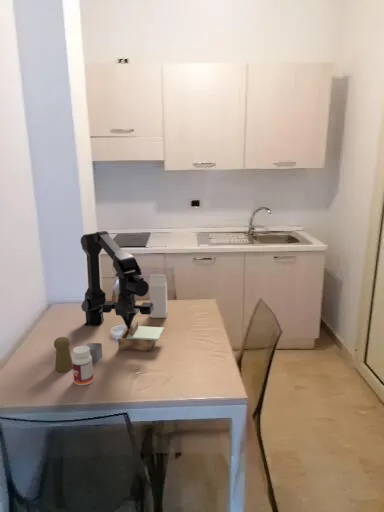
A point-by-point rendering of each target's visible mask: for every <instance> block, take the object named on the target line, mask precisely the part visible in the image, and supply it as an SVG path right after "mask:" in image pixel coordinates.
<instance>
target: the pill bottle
mask: <svg viewBox="0 0 384 512" xmlns="http://www.w3.org/2000/svg"><path fill="white" fill-rule="evenodd" d="M72 355H73V356H72V357H71V359H72V365H73V369H72V375H73V377H72V378H73V383H74V384H75V385H76V386H87V385H89V384H91V383H92V382H93V381H94V368H93V362H92V356H91V355H90V348H89V347H88V346H86V345H80V346H76V347H74V348H73V349H72Z"/></svg>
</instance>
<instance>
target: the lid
mask: <svg viewBox="0 0 384 512" xmlns="http://www.w3.org/2000/svg"><path fill="white" fill-rule="evenodd" d="M164 330H165V327H163V326H162V327H161V326H147V325H146V326H143V325H139V321H132V324H131V327H130V328H129V334H128V336H127V339H140V340H156V341H159V340H160V338H161V336H162V334H163V332H164Z"/></svg>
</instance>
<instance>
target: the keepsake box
mask: <svg viewBox="0 0 384 512" xmlns="http://www.w3.org/2000/svg"><path fill="white" fill-rule="evenodd" d="M128 334H129V329H127V327H126V328H125V329H124V330H123V331H122V333H121V334H120V336H119V337H118V339H117V343H118V351H129V352H130V351H133V352H143V353H145V352H147V353H150V352H151V351H152V349H153V347H154V345H155V343H156V342H157V340H140V339H127V336H128Z"/></svg>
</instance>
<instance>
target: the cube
mask: <svg viewBox="0 0 384 512" xmlns="http://www.w3.org/2000/svg"><path fill="white" fill-rule="evenodd" d="M85 346H88V347H89V348H90V355H91V356H92V363H95V364H96V363H98V362H99V361H100V360H101V358H102V357H103V347H102V346H103V345H102V342H99V343H98V342H88V343H87V344H86V345H85Z"/></svg>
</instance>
